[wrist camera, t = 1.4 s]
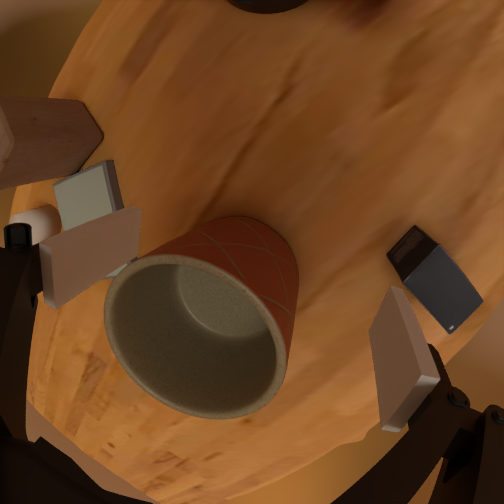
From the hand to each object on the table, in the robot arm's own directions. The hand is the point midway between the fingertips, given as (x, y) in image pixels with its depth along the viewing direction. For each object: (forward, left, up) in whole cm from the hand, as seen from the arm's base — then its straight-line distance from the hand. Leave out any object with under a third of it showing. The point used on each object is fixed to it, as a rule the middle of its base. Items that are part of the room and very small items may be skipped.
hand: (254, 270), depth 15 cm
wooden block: (-18, -35, -28) cm, 48 cm away
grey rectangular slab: (-2, -35, -28) cm, 44 cm away
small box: (+12, +16, -28) cm, 35 cm away
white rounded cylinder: (-5, -48, -28) cm, 55 cm away
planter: (+10, -11, -28) cm, 31 cm away
